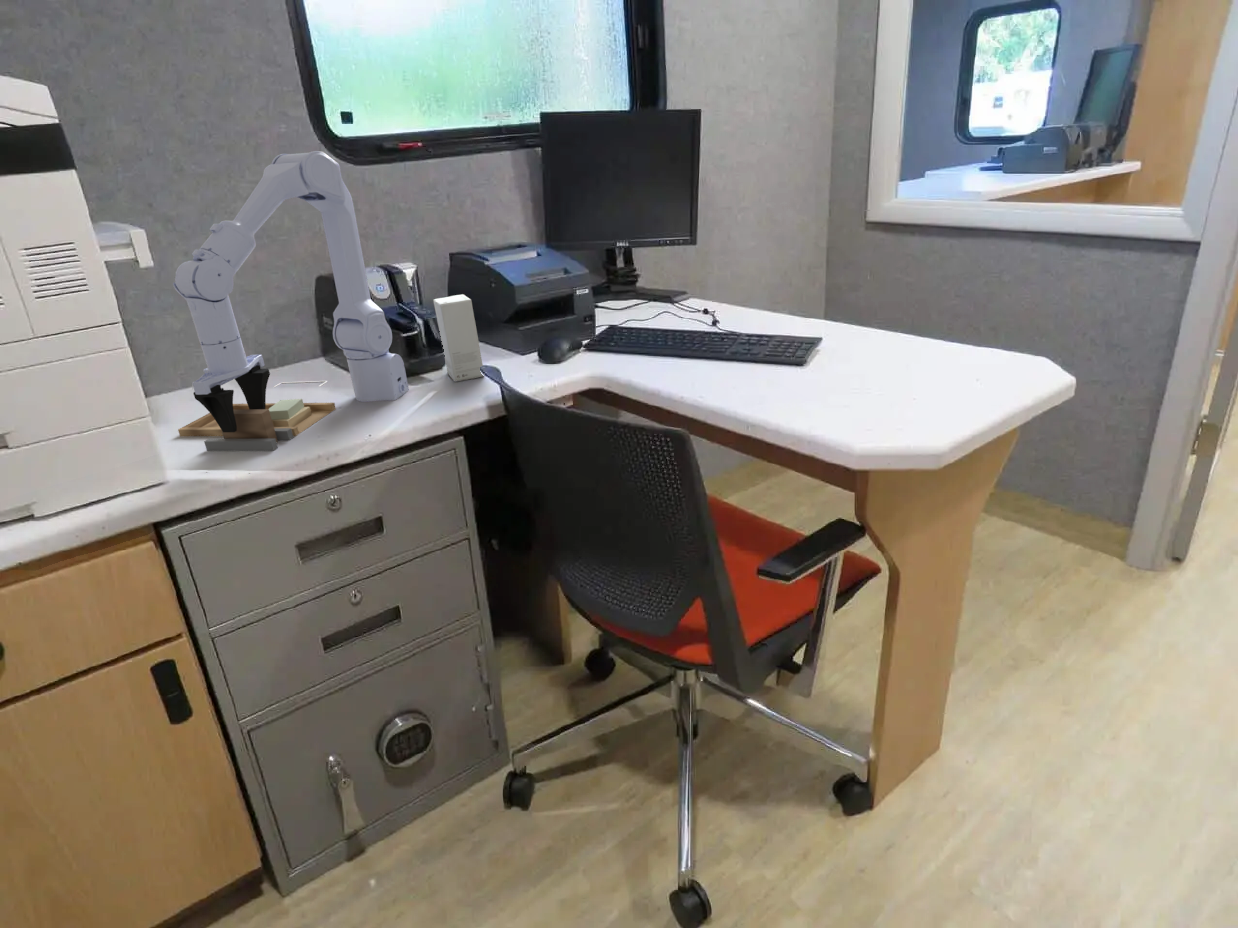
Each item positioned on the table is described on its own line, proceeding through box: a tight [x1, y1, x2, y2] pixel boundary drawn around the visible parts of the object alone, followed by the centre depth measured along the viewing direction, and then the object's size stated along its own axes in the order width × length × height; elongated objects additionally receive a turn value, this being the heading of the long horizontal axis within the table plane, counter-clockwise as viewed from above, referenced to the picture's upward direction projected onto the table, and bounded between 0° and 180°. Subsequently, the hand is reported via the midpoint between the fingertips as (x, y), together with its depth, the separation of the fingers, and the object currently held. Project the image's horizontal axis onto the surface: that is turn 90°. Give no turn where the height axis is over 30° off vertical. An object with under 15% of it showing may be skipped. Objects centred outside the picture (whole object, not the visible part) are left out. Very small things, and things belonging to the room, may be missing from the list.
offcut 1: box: [269, 398, 304, 420], centre depth 132 cm, size 4×6×2 cm, turn 178°
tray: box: [177, 402, 337, 437], centre depth 134 cm, size 22×13×2 cm, turn 80°
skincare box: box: [432, 293, 484, 382], centre depth 152 cm, size 8×7×16 cm
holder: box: [203, 428, 294, 452], centre depth 124 cm, size 12×6×3 cm, turn 80°
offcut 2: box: [272, 407, 312, 427], centre depth 132 cm, size 5×7×2 cm
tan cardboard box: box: [222, 409, 279, 444], centre depth 123 cm, size 8×2×6 cm, turn 80°
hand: (244, 422), depth 122 cm, fingers open, 7 cm apart
